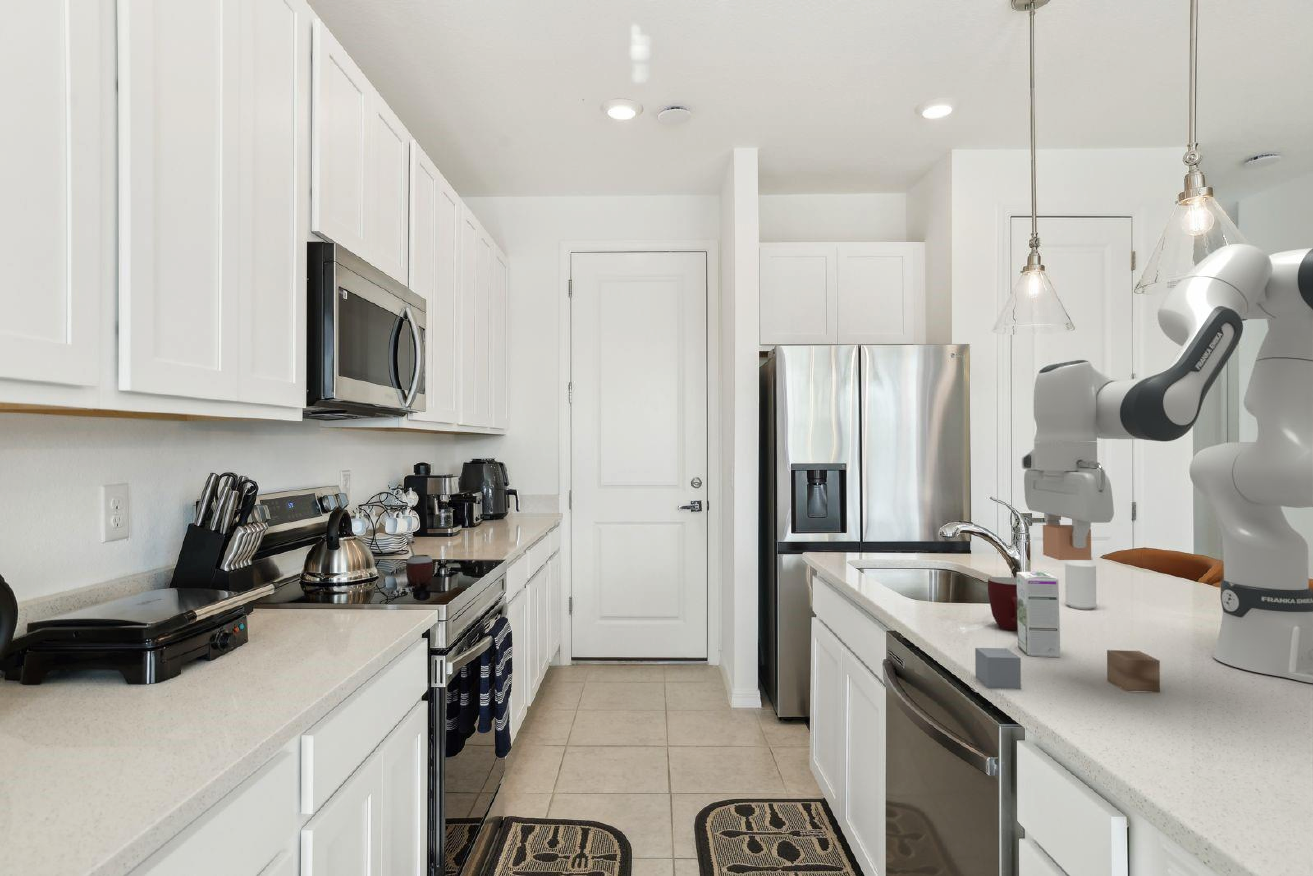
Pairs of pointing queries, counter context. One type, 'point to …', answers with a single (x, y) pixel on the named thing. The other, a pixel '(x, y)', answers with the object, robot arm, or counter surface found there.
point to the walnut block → (1133, 670)
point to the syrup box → (1038, 614)
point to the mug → (1004, 601)
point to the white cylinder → (1080, 584)
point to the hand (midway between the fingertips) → (1066, 544)
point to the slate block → (998, 668)
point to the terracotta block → (1063, 543)
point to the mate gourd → (418, 568)
